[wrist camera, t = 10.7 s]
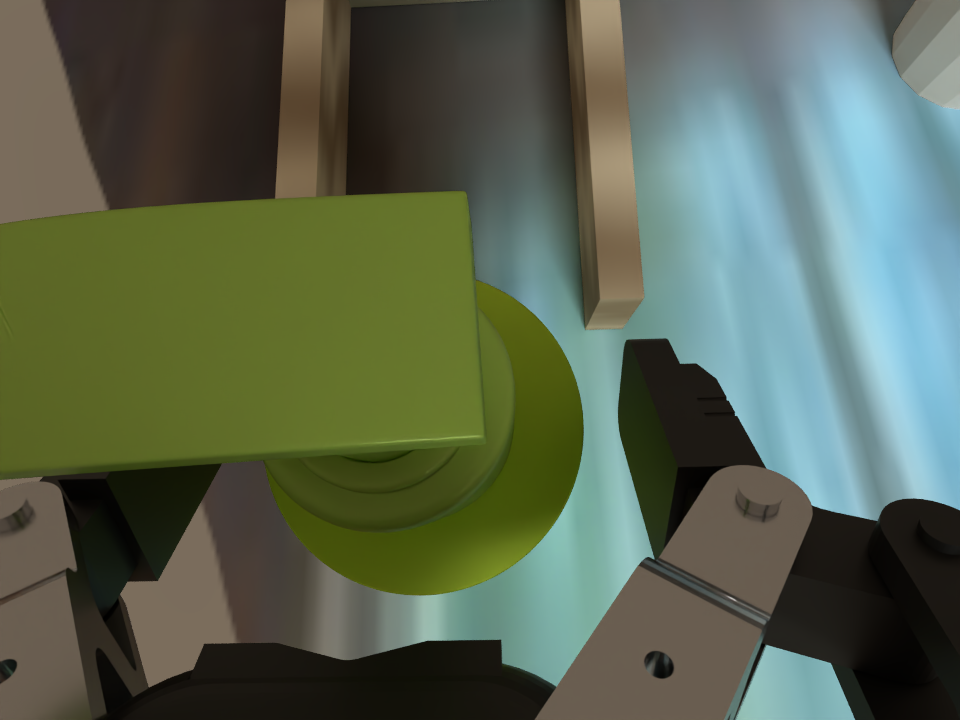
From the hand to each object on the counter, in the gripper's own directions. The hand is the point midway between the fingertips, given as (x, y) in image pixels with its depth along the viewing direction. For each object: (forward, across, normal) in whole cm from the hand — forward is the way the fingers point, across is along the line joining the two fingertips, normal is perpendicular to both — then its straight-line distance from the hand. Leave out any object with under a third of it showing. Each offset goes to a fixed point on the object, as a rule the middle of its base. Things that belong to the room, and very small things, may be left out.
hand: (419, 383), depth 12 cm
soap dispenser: (+8, 0, +10) cm, 13 cm away
